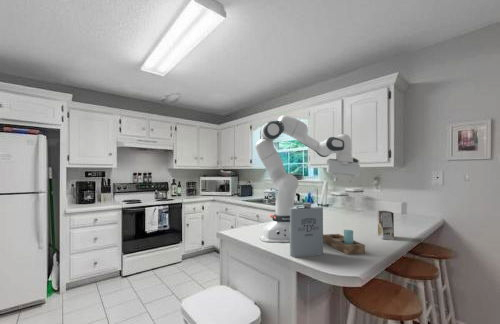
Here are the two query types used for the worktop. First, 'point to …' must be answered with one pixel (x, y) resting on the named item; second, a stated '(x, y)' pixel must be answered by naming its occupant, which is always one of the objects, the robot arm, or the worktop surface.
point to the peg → (348, 237)
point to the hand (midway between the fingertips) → (343, 181)
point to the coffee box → (386, 225)
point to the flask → (306, 231)
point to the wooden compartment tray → (343, 244)
